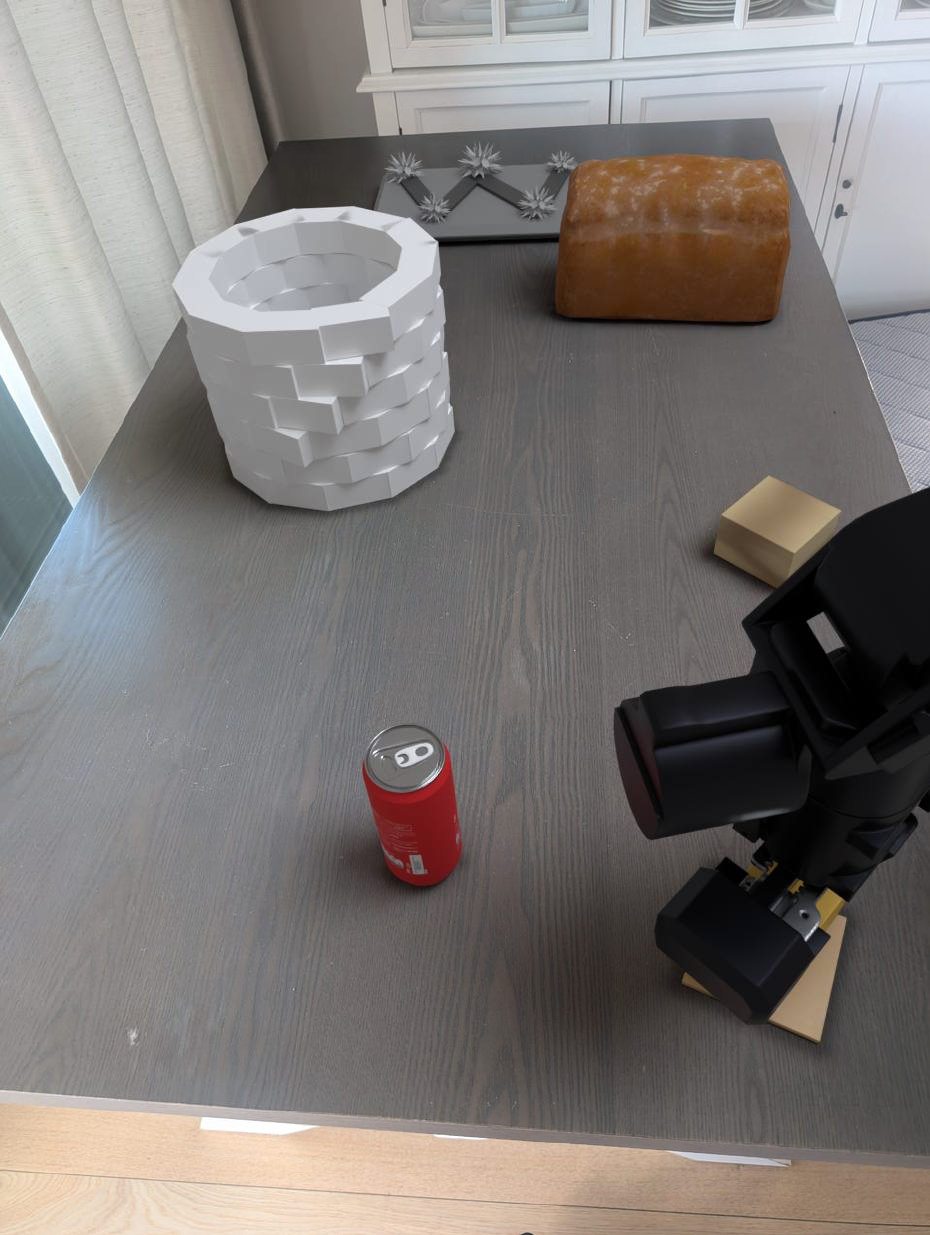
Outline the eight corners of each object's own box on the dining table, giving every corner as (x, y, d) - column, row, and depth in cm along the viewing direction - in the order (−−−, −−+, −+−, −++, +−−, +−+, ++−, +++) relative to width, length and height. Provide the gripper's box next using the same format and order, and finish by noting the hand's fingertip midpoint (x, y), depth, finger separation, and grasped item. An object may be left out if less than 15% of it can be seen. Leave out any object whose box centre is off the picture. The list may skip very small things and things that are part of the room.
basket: (219, 397, 100) (166, 228, 86) (426, 356, 102) (409, 187, 89) (236, 542, 83) (175, 363, 69) (484, 489, 86) (473, 306, 72)
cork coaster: (845, 920, 55) (847, 917, 55) (818, 1043, 51) (820, 1041, 50) (718, 870, 58) (718, 867, 58) (681, 983, 54) (681, 981, 53)
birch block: (828, 550, 77) (841, 510, 74) (783, 592, 74) (794, 553, 71) (759, 514, 81) (768, 474, 78) (713, 553, 78) (720, 514, 75)
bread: (781, 329, 102) (812, 187, 90) (551, 323, 106) (553, 187, 94) (772, 271, 111) (799, 135, 99) (561, 268, 115) (563, 137, 103)
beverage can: (375, 839, 61) (348, 738, 52) (445, 810, 62) (429, 707, 54) (402, 904, 58) (377, 809, 49) (475, 873, 59) (463, 774, 50)
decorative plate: (366, 250, 122) (359, 197, 116) (384, 185, 136) (378, 135, 131) (588, 242, 119) (590, 187, 114) (582, 176, 134) (584, 125, 128)
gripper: (807, 564, 47) (756, 734, 59) (572, 783, 39) (565, 930, 51) (1020, 677, 42) (917, 841, 53) (796, 961, 34) (731, 1082, 45)
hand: (783, 914), depth 51 cm, fingers closed on mustard cube, 4 cm apart
